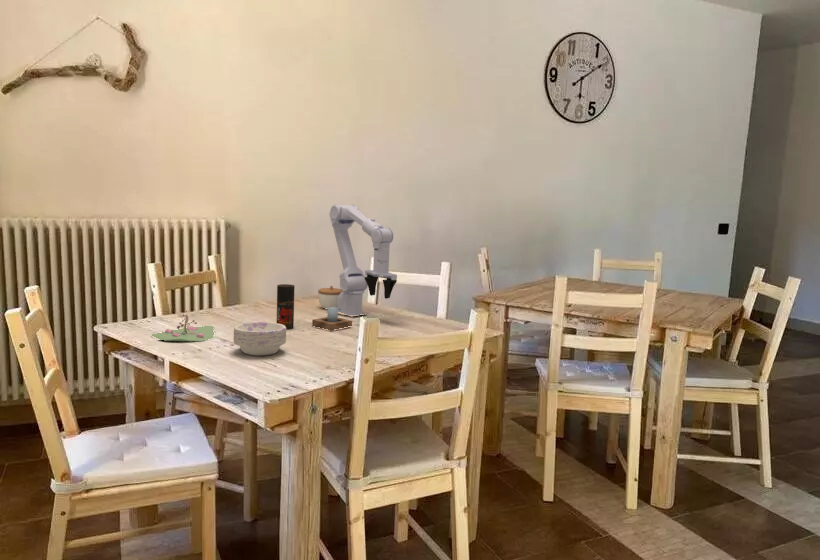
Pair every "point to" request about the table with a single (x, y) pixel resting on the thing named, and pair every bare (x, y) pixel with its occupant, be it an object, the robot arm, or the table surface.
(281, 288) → the deodorant
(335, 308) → the peg
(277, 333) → the paper bowls
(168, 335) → the plant
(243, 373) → the table surface
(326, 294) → the lidded jar
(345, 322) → the socket block
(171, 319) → the table surface
